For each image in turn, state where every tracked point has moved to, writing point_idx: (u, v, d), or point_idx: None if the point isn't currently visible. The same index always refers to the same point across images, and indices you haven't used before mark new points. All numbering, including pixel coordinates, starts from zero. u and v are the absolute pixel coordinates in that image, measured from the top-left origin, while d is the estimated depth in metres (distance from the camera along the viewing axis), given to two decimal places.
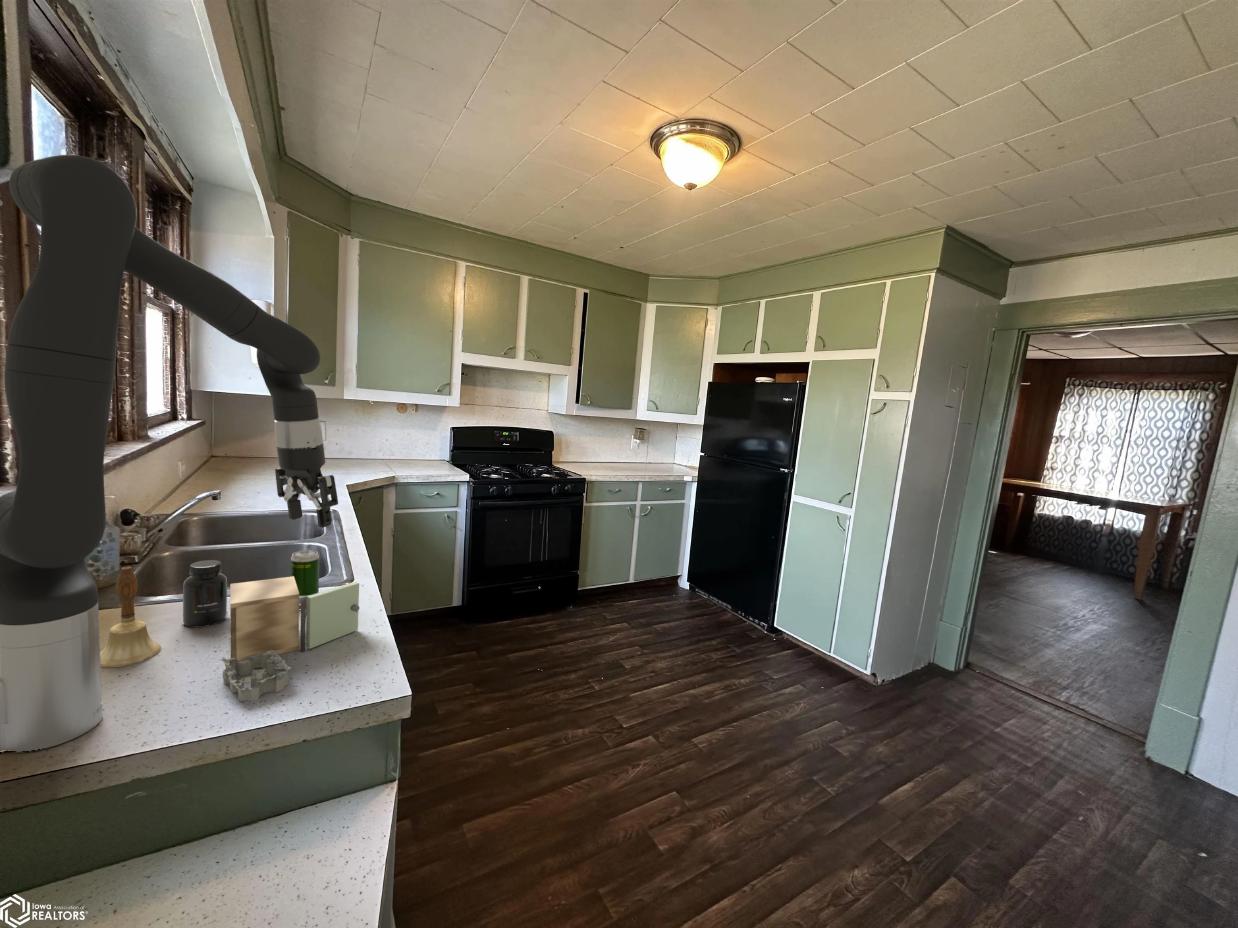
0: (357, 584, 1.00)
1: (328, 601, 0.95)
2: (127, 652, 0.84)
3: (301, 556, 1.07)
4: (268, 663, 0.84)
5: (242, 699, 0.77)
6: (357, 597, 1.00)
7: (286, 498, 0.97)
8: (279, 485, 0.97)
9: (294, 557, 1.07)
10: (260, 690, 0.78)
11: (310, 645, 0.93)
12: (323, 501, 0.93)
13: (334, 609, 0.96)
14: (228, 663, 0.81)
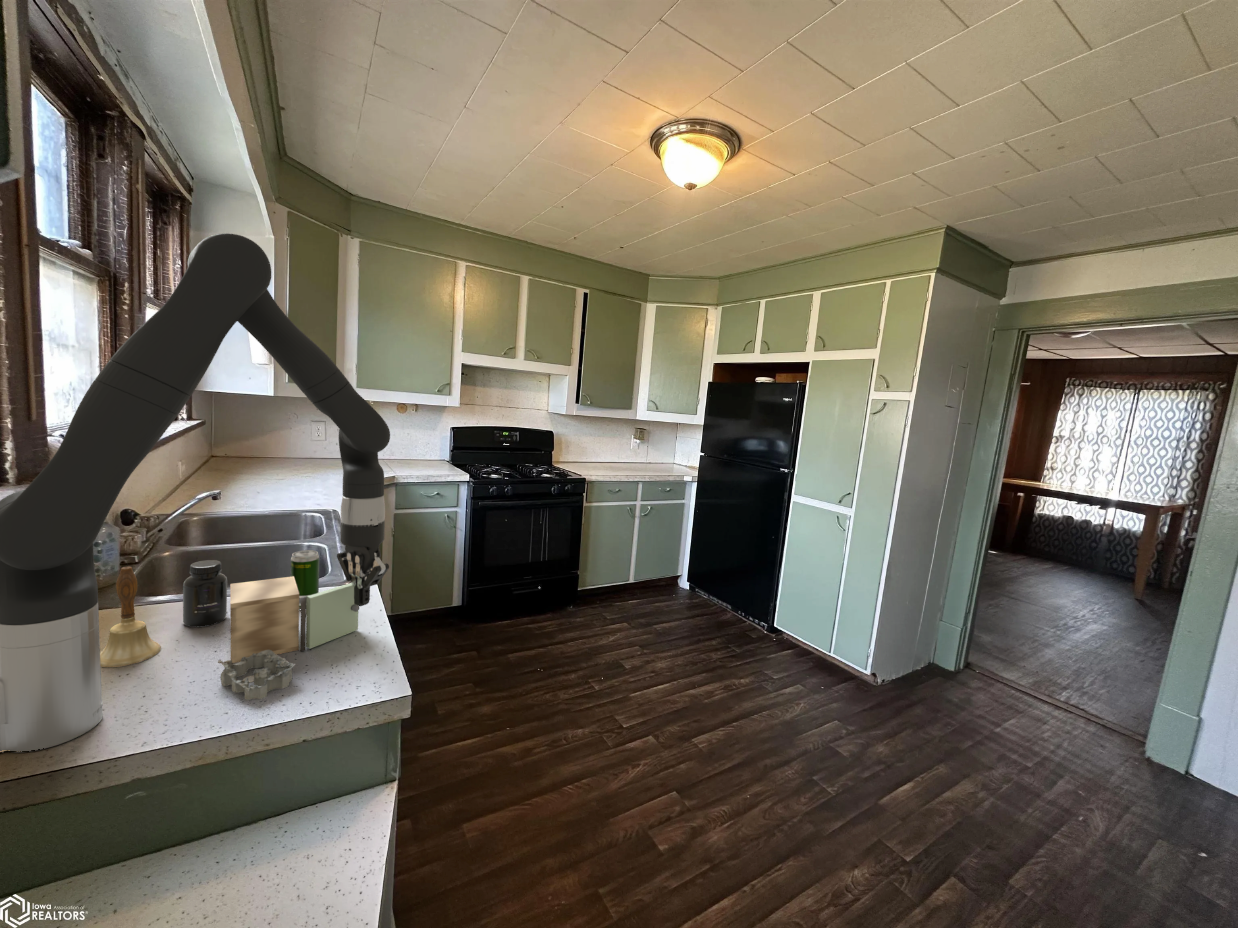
0: None
1: (328, 601, 0.95)
2: (127, 652, 0.84)
3: (301, 556, 1.07)
4: (266, 662, 0.84)
5: (250, 698, 0.77)
6: None
7: (353, 582, 0.95)
8: (344, 568, 0.96)
9: (294, 557, 1.07)
10: (267, 688, 0.79)
11: (310, 645, 0.93)
12: (366, 582, 0.93)
13: (334, 609, 0.96)
14: (226, 665, 0.80)
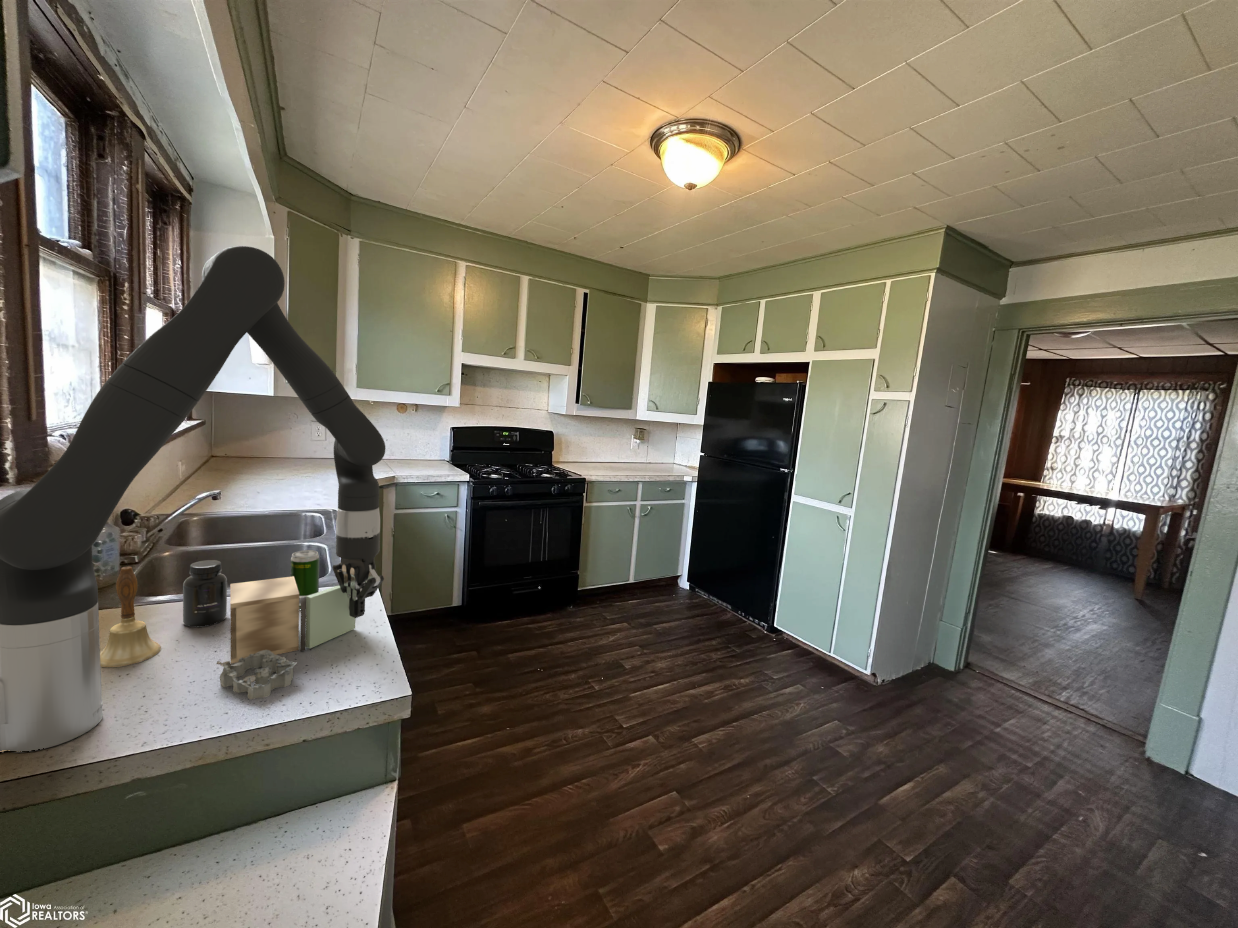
0: None
1: (327, 600, 0.95)
2: (127, 652, 0.84)
3: (301, 556, 1.07)
4: (265, 662, 0.84)
5: (253, 697, 0.78)
6: None
7: (349, 594, 0.96)
8: (340, 580, 0.97)
9: (294, 557, 1.07)
10: None
11: (310, 645, 0.93)
12: (361, 594, 0.94)
13: (333, 608, 0.96)
14: (226, 666, 0.80)
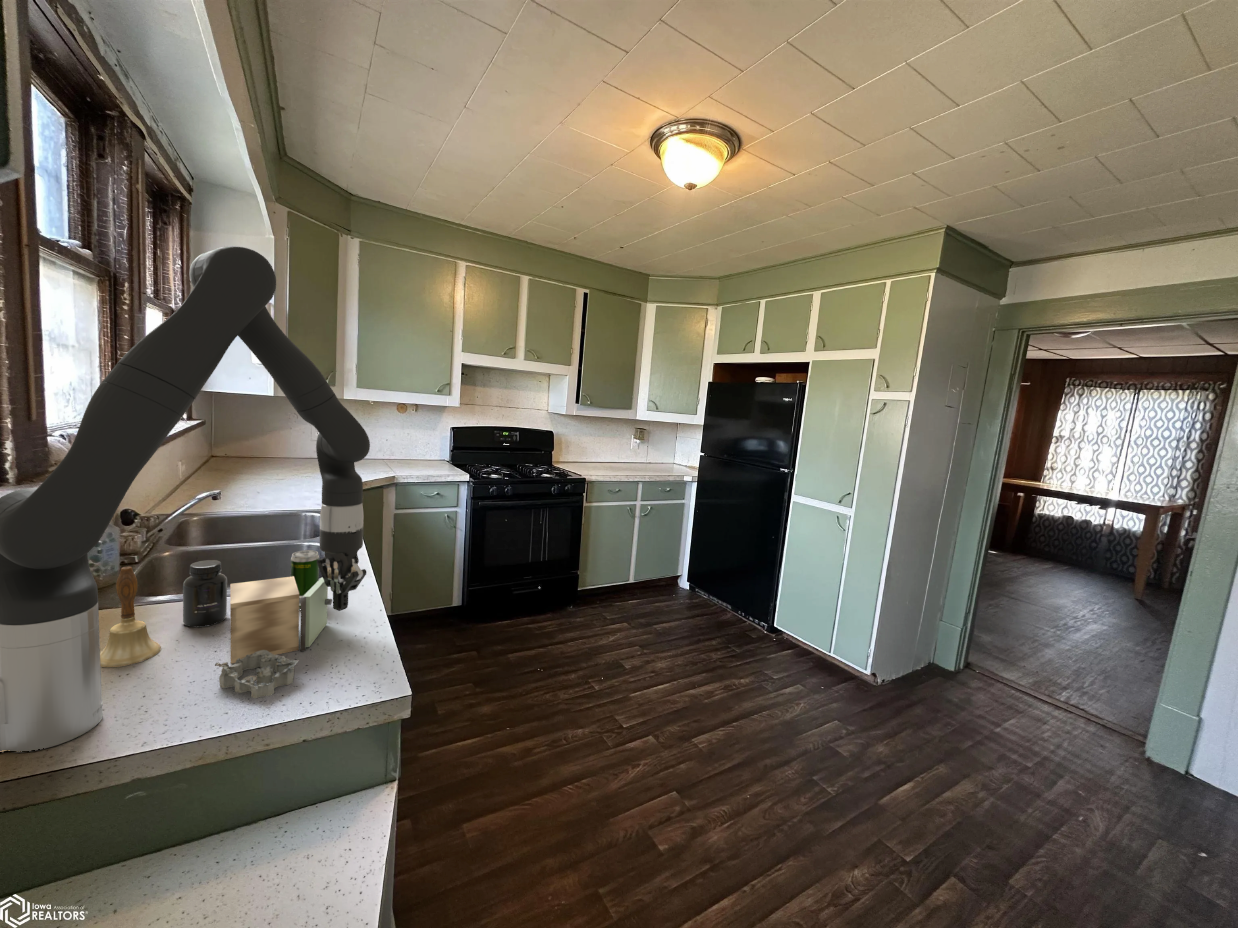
0: None
1: (316, 598, 0.95)
2: (127, 652, 0.84)
3: (301, 556, 1.07)
4: (264, 662, 0.84)
5: (257, 696, 0.78)
6: (327, 591, 1.01)
7: (332, 587, 0.98)
8: (324, 574, 0.99)
9: (294, 557, 1.07)
10: None
11: (309, 643, 0.93)
12: (344, 587, 0.96)
13: (318, 605, 0.97)
14: (225, 667, 0.80)
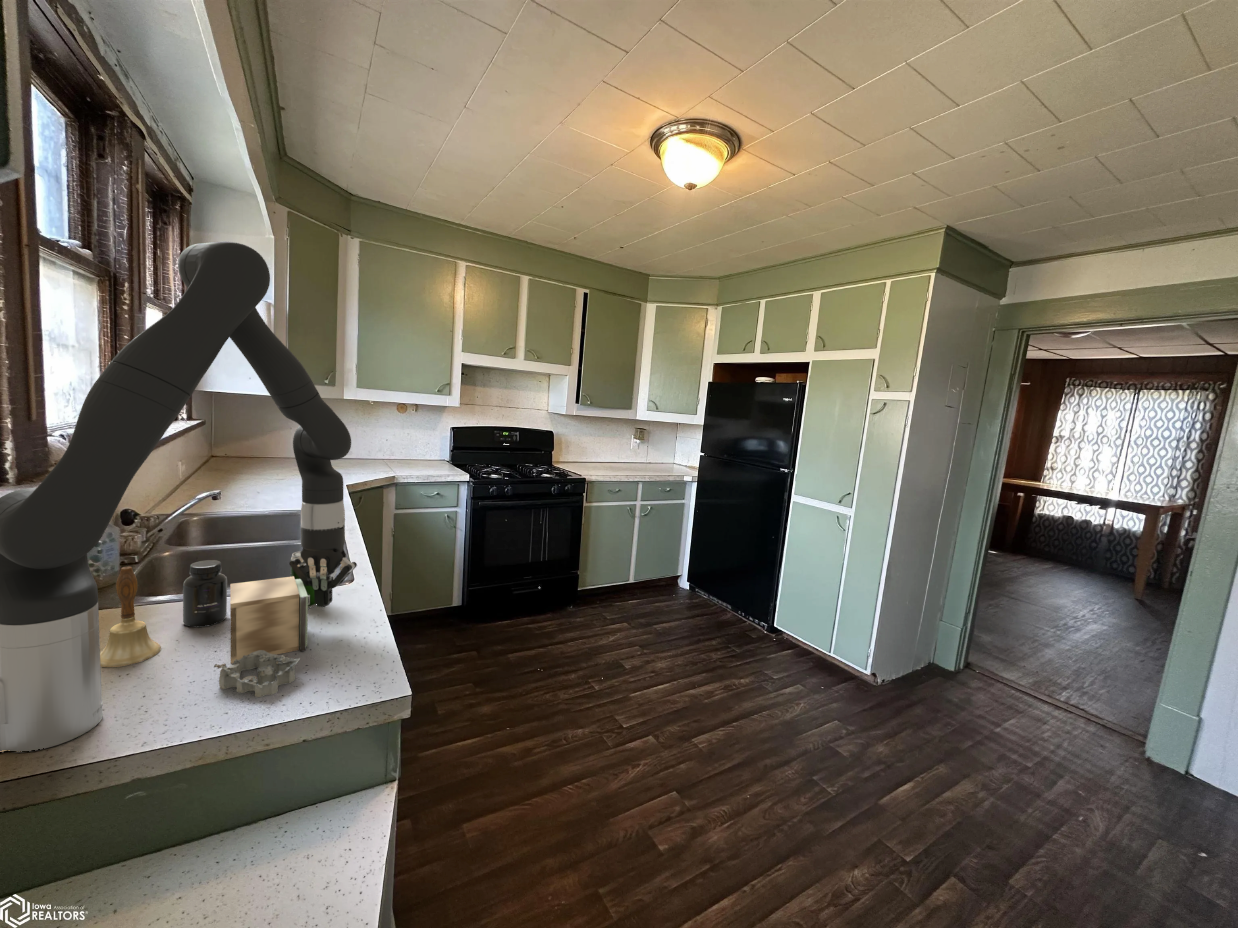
0: None
1: None
2: (127, 652, 0.84)
3: None
4: (263, 662, 0.84)
5: (261, 695, 0.78)
6: None
7: (316, 585, 0.98)
8: (302, 574, 0.98)
9: (294, 557, 1.07)
10: None
11: (306, 643, 0.93)
12: (334, 582, 0.98)
13: None
14: (225, 668, 0.79)
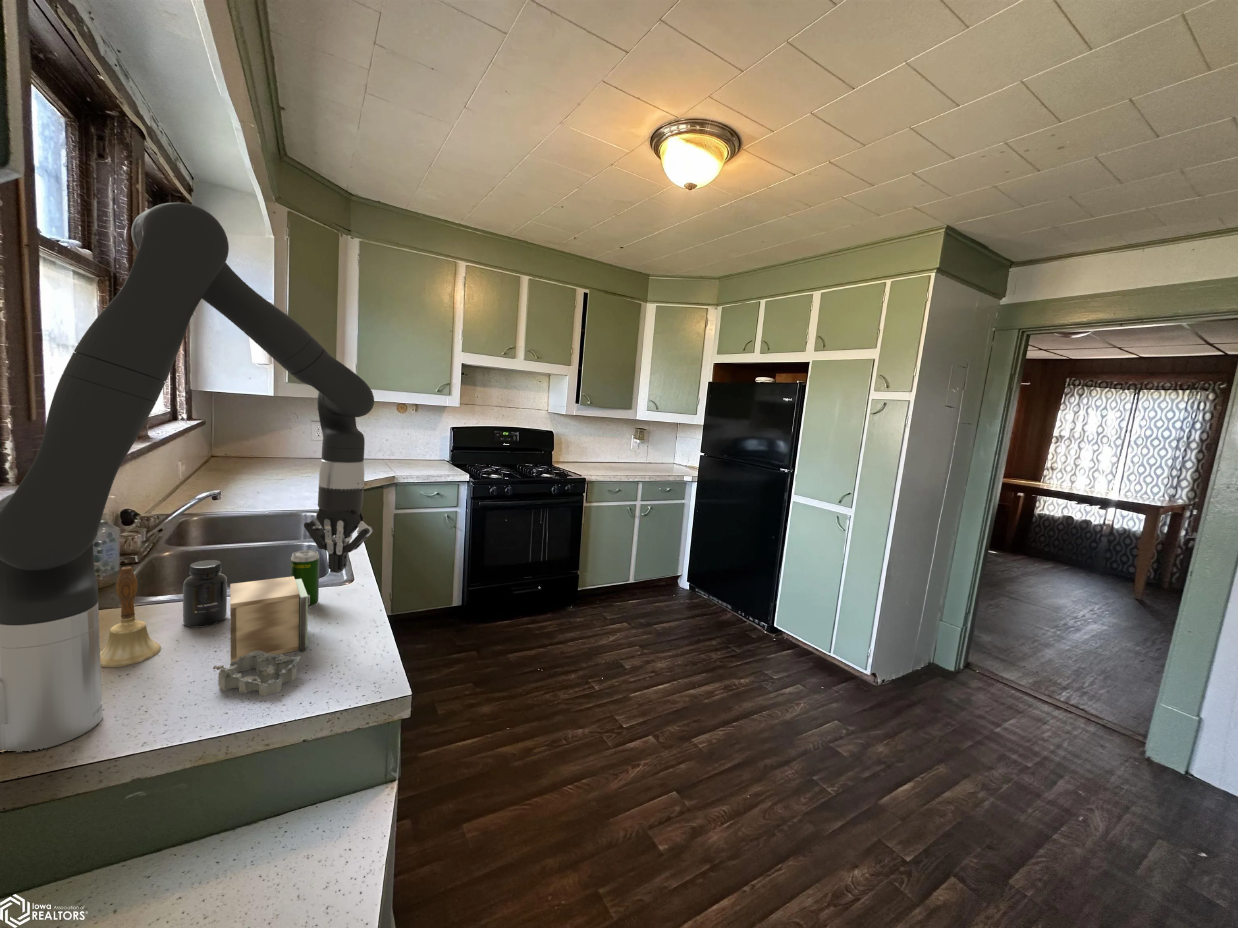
0: None
1: None
2: (127, 652, 0.84)
3: (301, 556, 1.07)
4: (261, 662, 0.84)
5: (266, 693, 0.79)
6: None
7: (330, 549, 0.94)
8: (316, 537, 0.94)
9: (294, 557, 1.07)
10: None
11: (306, 643, 0.93)
12: (350, 546, 0.94)
13: None
14: (226, 669, 0.79)
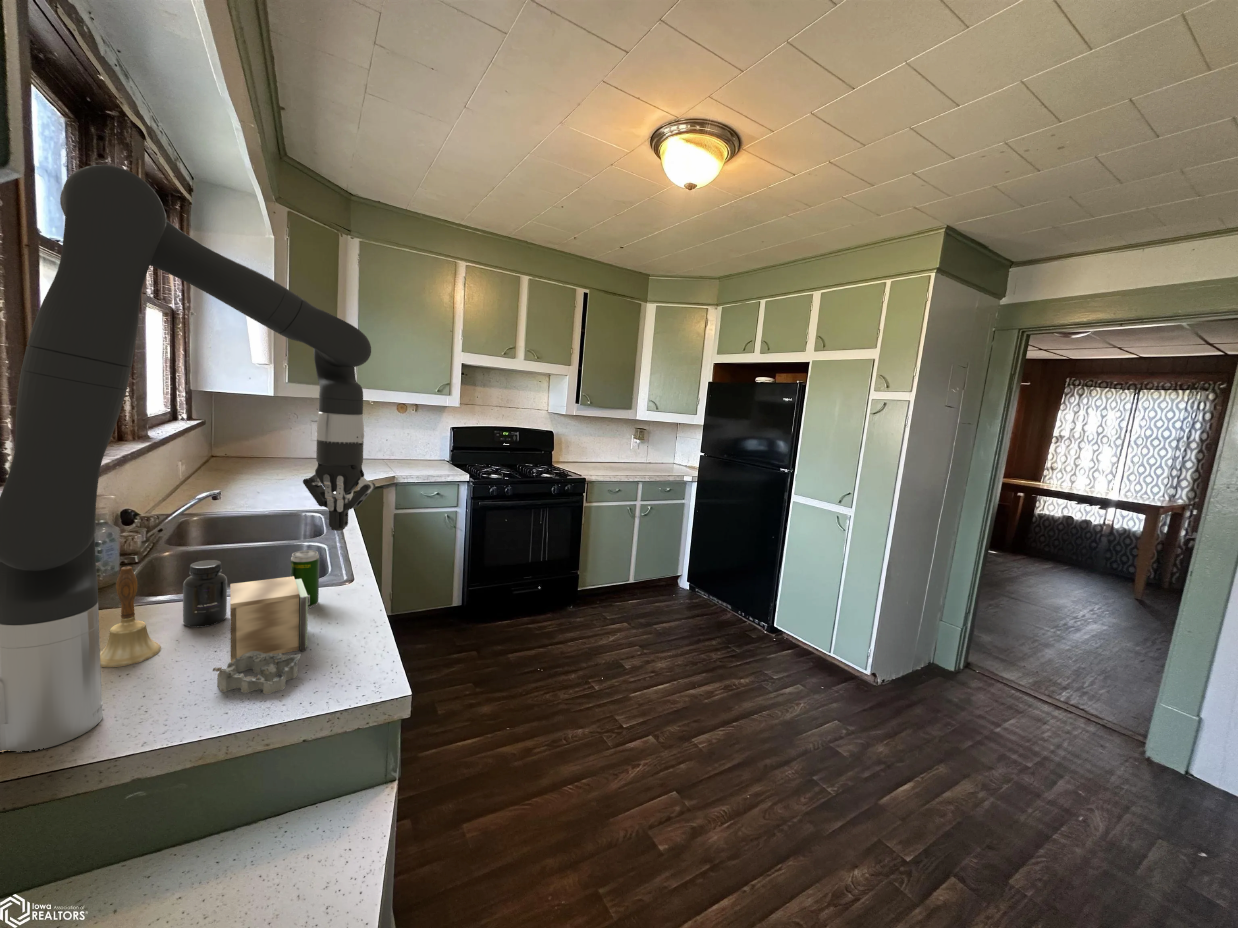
0: None
1: None
2: (127, 652, 0.84)
3: (301, 556, 1.07)
4: (259, 662, 0.84)
5: (271, 691, 0.79)
6: None
7: (331, 506, 0.91)
8: (316, 493, 0.90)
9: (294, 557, 1.07)
10: None
11: (306, 643, 0.93)
12: (351, 503, 0.90)
13: None
14: (226, 670, 0.79)
